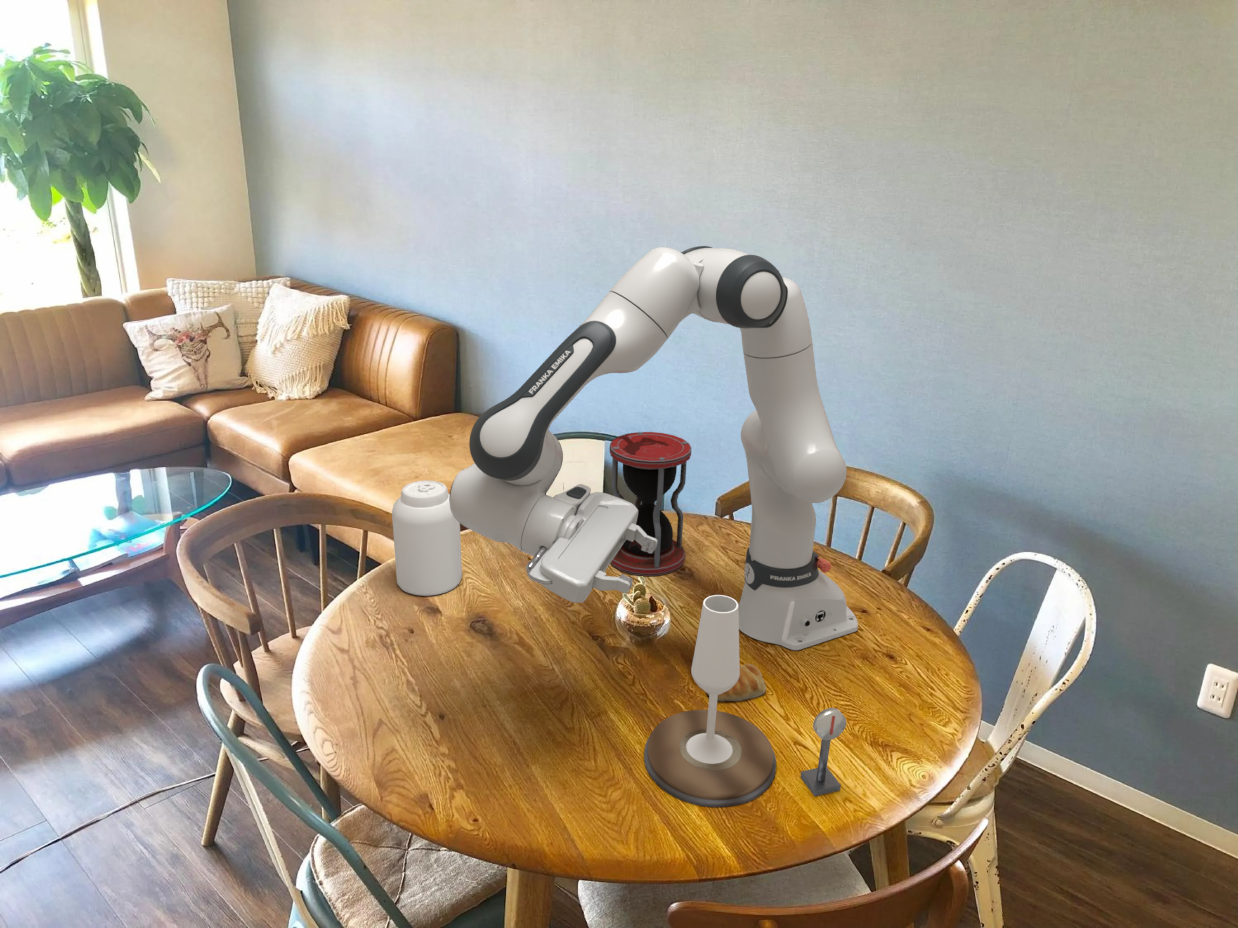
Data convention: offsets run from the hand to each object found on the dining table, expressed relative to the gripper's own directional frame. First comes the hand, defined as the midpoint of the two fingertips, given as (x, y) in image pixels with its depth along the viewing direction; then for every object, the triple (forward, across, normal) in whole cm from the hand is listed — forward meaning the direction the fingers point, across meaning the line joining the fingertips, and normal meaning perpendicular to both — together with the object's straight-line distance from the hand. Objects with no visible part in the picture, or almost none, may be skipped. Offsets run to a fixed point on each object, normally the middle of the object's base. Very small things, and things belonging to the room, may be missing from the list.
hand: (643, 566), depth 128 cm
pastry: (+17, +12, +29) cm, 35 cm away
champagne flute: (+17, -5, +23) cm, 29 cm away
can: (-46, +20, +43) cm, 66 cm away
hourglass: (-11, +47, +41) cm, 63 cm away
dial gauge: (+33, -4, +22) cm, 40 cm away
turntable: (+17, -6, +25) cm, 31 cm away
